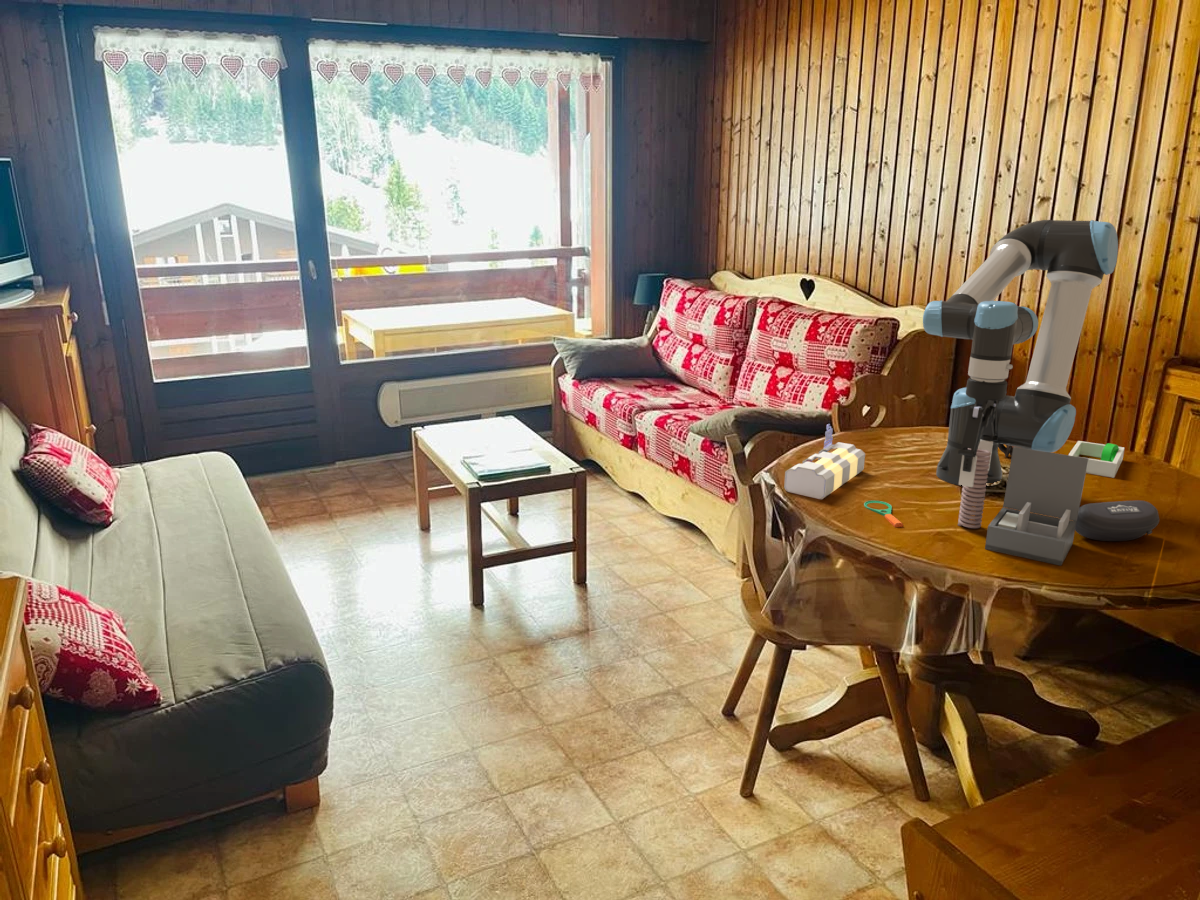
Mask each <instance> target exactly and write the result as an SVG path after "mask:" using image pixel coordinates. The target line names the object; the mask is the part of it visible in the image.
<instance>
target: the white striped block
mask: <svg viewBox="0 0 1200 900" xmlns="http://www.w3.org/2000/svg"><path fill="white" fill-rule="evenodd" d="M825 429H826V431H825V432H824V435H825V436H824V438H825V440H824V442H823V448H822V449H821V450H819V451H818V453H814V454H812V455H810V456H809V457H807V458H806V459H803V460H802V463H797V464H795V465H794V466H792V467H790V468H789V469H787V470H785V472H784V485H783V486H784V489H785V491H786V492H788V493H791V494H796V495H801V496H805V497H809V498H813V499H818V500H824V498H826V497H827V496H829V495H830V494H832V493H833V492H834V491H836V490H837V489H839V488H840V487H841V486H843V485H844V484H845V483H847V482H848V481H850V480H851V479H853V478H855V476H857V475H858V474H860V473H861V472H862V471H863V470H865V457H866V452H864V451H863V449H859V448H856V445H855V444H851V443H846V442H845V443H844V442H841V441H840V442H839V441H838V442H836V443H835V444H833V439H834V438H833V430H834V428H832V426H831V424H830V423H828V424H826V428H825ZM831 450H833V451H831ZM829 451H831V452H829ZM816 459H818V460H817V461H815V462H813V461H814V460H816Z"/></svg>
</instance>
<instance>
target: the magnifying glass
mask: <svg viewBox="0 0 1200 900" xmlns="http://www.w3.org/2000/svg"><path fill="white" fill-rule="evenodd" d="M868 504H869V505H870V504H881V505H884V506H886V507H888V508H886V509H885V508H884V509H877V508H872V507H870V506H868ZM863 506H864V508H865V509H867V510H869V511H871V512H874V513H877V514H879V515H881V516H882V517H884V519H886V521H888V522H889V523H890V524H891V526H893V527H894V528H903V527H904V523H902V522H901V521H900V520H899V519H898V518H896V517H895V516H894V515H893V514H892V511H893V506H892V504H890V503H888V502H886V501H881V500H867V501H865V502H864V503H863Z"/></svg>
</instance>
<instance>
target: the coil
mask: <svg viewBox="0 0 1200 900" xmlns="http://www.w3.org/2000/svg"><path fill="white" fill-rule="evenodd" d="M968 449H969V448H968ZM970 450H971V449H970ZM990 455H991V452H990V451H987V450H982V449H977V453H976V456H977V462H976V469H975V477H974V484H973V487H967V486H962V488H961V497H960V506H959V513H958V521H957V526H958V527H962V526H963V527H964V528H968V529H980V528H981V526H982V522H983V520H982V519H983V513H984V511H983V510H984V505H985V502H984V501H985V499H986V497H985V496H986V491H987V489H986V488H987V487H986V486H987V485H986V482H987V479H986V478H988V475H987V474H988V470H987V469H989V466H988V465H989V463H990V462H989V461H988V460H990V457H989V456H990Z"/></svg>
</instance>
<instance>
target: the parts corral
mask: <svg viewBox="0 0 1200 900" xmlns="http://www.w3.org/2000/svg"><path fill="white" fill-rule="evenodd" d="M1105 445H1106V444H1103V443H1097V442H1096V443H1095V442H1089V441H1082V440H1077V441H1076V444H1075V445H1074V446H1073V447H1072V449H1071V450H1070V452H1069V453H1068V455H1070V456H1076V457H1080V455H1083V456H1088V457H1089V459H1088V464H1087V470H1086V474H1090V475H1096V476H1102V477H1106V478H1113V479H1114V478H1115V477H1116V475H1117V473H1118V470H1119V469H1120V466H1121V464H1122V462H1123V458H1124V455H1125V447H1122V446H1118V452H1117V454H1116V456H1115V458H1114V460H1113V462H1109V461H1102V460H1101V455H1102V451H1103V449H1104V447H1105ZM1090 457H1094V458H1090ZM1095 458H1100V459H1095Z"/></svg>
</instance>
